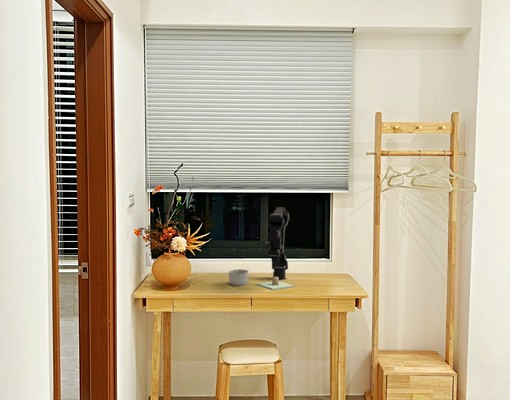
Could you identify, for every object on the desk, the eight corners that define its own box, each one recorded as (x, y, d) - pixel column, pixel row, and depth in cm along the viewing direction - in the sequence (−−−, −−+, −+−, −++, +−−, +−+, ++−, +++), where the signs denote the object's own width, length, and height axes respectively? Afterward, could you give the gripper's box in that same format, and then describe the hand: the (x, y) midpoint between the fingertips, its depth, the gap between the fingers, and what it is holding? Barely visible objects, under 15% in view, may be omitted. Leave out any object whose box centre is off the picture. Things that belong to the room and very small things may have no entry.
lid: (277, 281, 328) (277, 273, 327) (293, 286, 316) (293, 278, 316) (257, 284, 320) (257, 276, 319) (272, 289, 308) (273, 281, 308)
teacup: (245, 287, 314) (245, 273, 314) (226, 286, 316) (226, 272, 316) (251, 282, 328) (251, 268, 327) (232, 281, 330) (232, 267, 329)
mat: (277, 282, 329) (277, 281, 329) (295, 287, 316) (295, 286, 316) (255, 285, 320) (255, 284, 320) (272, 291, 307) (272, 290, 307)
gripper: (263, 234, 327) (263, 262, 328) (258, 239, 308) (258, 268, 309) (283, 235, 325) (283, 262, 326) (279, 240, 306) (278, 269, 308)
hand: (275, 265), depth 317 cm, fingers open, 9 cm apart
